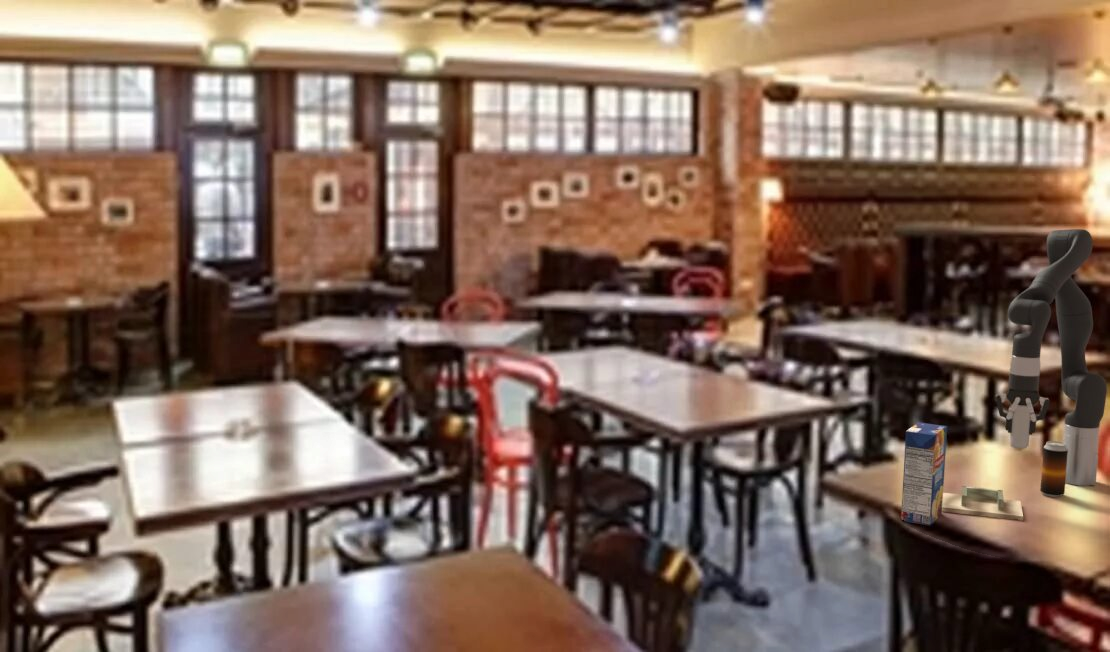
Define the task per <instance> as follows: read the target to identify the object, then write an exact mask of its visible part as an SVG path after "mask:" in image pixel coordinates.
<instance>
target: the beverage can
mask: <svg viewBox="0 0 1110 652" xmlns="http://www.w3.org/2000/svg"><path fill="white" fill-rule="evenodd" d="M1067 455H1068V449H1067V447H1066V444H1065V443H1063V441H1062V442H1061V441H1055V440H1048V441H1046V443H1045V445H1044V446H1043V450H1042V466H1041V477H1040V478H1041V479H1040V493H1042V494H1043V495H1044V496H1046V497H1053V498H1061V496H1063V495H1065V492H1066V491H1065V488H1066V483H1065V480H1066V467H1067Z"/></svg>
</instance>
